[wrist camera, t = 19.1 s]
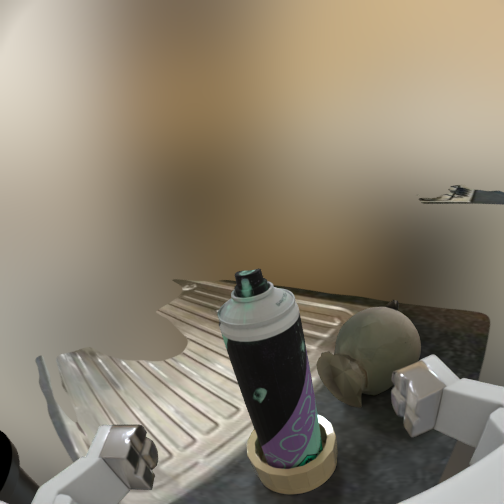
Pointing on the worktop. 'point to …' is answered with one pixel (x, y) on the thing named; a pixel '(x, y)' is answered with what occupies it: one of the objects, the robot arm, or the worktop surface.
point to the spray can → (272, 369)
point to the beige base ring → (300, 476)
